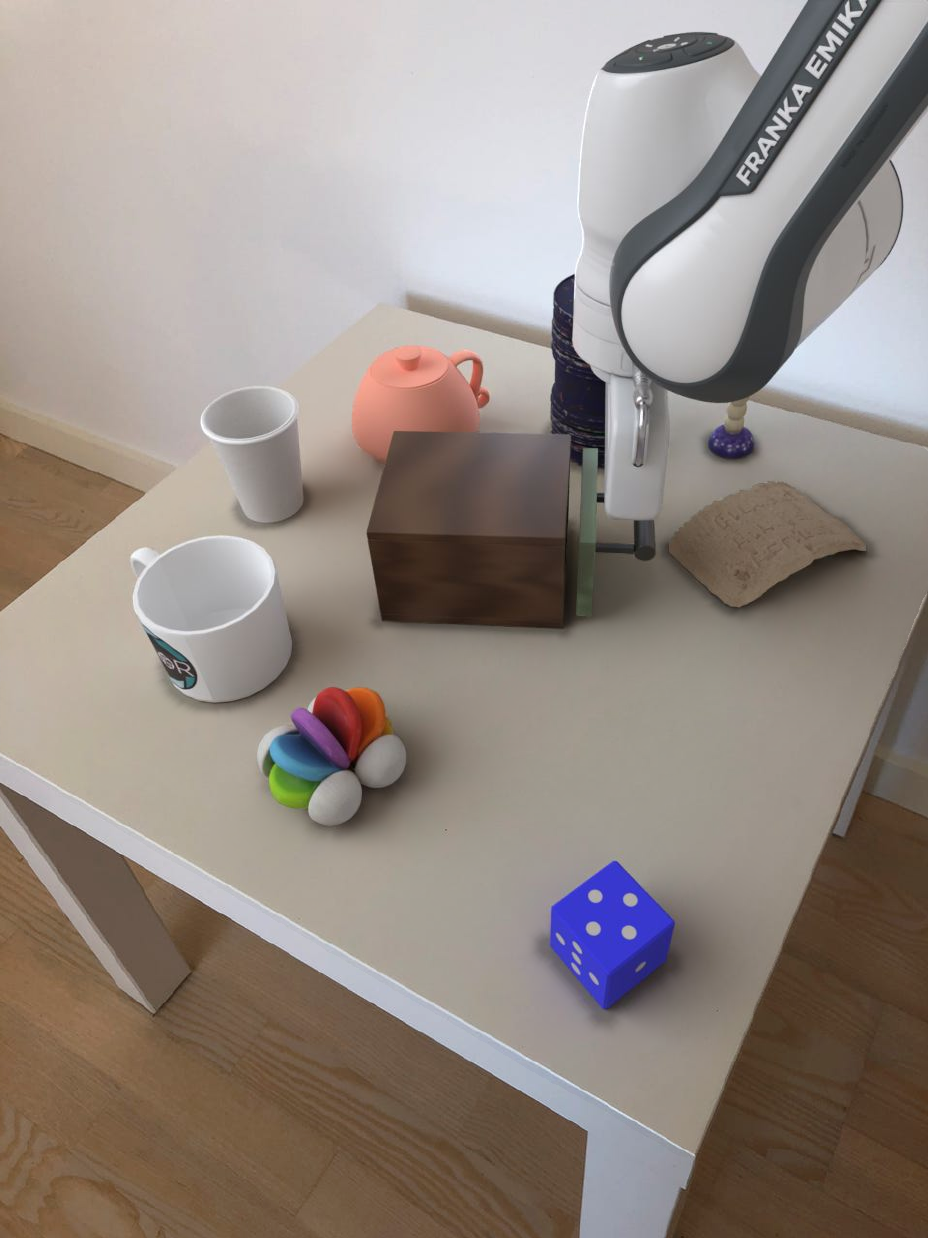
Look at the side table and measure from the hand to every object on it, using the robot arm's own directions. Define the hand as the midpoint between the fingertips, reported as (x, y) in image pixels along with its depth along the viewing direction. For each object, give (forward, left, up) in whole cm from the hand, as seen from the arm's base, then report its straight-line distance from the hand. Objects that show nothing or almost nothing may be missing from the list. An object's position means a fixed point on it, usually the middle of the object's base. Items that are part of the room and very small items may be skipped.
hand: (625, 485), depth 72 cm
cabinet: (+12, 0, -10) cm, 15 cm away
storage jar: (+2, -19, -10) cm, 21 cm away
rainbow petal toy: (+20, +21, -10) cm, 30 cm away
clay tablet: (-12, -4, -10) cm, 16 cm away
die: (+1, +33, -10) cm, 34 cm away
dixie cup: (+32, -8, -10) cm, 34 cm away
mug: (+32, +10, -10) cm, 34 cm away
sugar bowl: (+19, -18, -10) cm, 28 cm away
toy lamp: (-10, -18, -10) cm, 23 cm away
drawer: (+7, 0, -9) cm, 11 cm away
